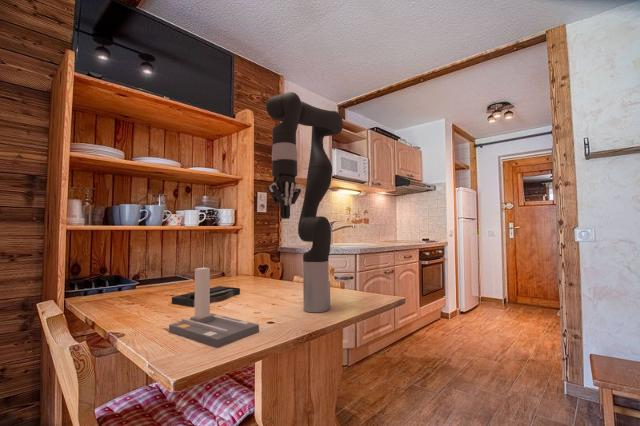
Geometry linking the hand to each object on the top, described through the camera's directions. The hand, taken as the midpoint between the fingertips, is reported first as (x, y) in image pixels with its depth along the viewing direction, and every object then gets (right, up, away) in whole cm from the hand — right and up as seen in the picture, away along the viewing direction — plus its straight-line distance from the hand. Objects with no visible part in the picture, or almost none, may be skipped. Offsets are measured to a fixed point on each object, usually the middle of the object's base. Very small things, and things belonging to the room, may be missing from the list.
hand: (285, 218), depth 91 cm
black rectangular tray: (-34, -35, +38) cm, 62 cm away
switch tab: (-25, -30, 0) cm, 39 cm away
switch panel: (-20, -32, -3) cm, 38 cm away
